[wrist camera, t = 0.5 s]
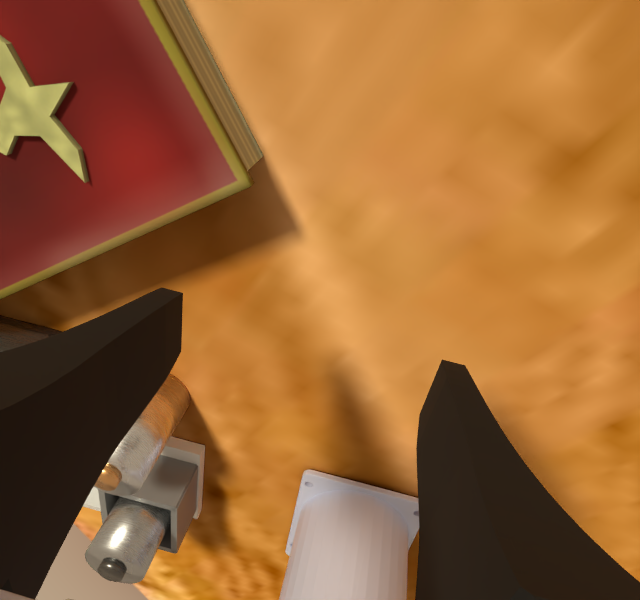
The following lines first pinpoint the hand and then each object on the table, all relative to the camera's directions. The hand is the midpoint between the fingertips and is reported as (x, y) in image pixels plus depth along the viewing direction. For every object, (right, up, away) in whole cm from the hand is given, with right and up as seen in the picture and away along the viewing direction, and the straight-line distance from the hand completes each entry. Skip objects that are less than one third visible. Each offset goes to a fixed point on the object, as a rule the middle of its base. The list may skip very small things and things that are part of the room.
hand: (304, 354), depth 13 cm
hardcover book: (-13, +10, +10) cm, 19 cm away
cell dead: (-10, -11, +20) cm, 24 cm away
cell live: (-9, -4, +16) cm, 19 cm away
